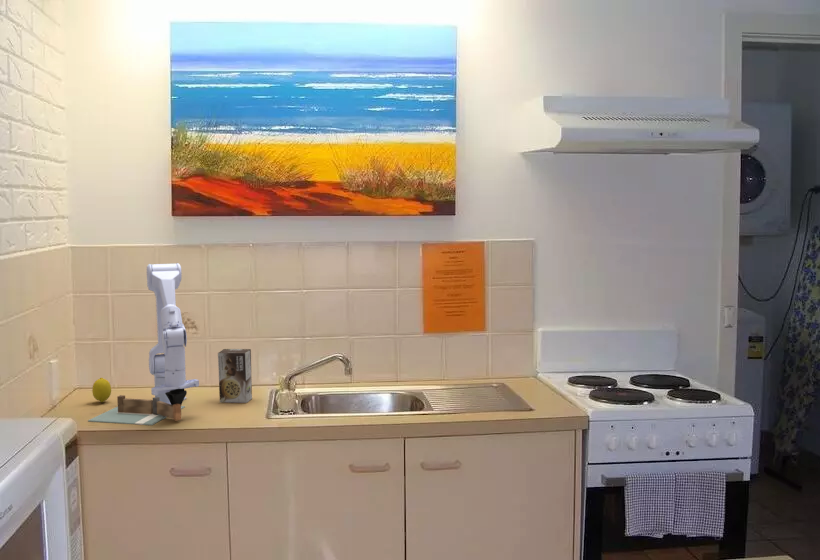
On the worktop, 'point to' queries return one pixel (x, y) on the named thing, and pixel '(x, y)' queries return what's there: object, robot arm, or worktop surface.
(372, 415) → the worktop surface
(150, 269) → the robot arm
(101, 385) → the lemon
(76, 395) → the worktop surface
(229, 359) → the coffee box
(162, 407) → the hinged fence panel
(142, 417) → the card
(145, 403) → the fixed fence section
